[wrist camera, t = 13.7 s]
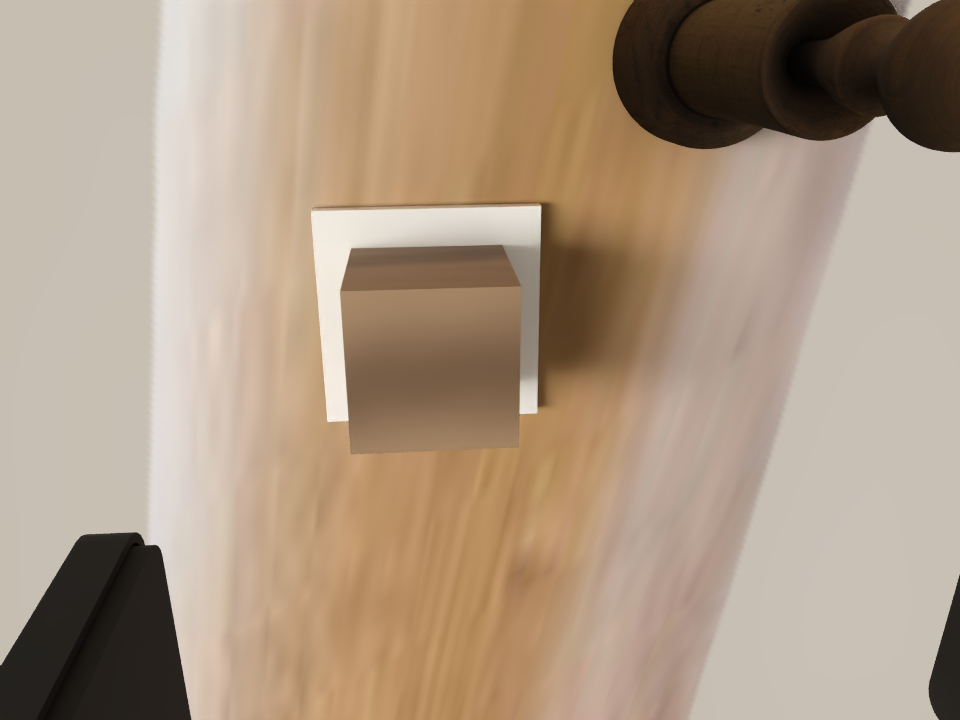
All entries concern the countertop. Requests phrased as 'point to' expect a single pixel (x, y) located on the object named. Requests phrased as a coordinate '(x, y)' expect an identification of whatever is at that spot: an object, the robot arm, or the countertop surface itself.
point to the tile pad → (424, 229)
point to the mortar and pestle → (789, 69)
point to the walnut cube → (431, 348)
